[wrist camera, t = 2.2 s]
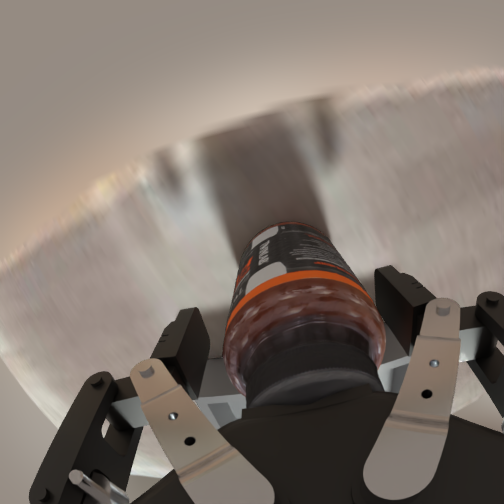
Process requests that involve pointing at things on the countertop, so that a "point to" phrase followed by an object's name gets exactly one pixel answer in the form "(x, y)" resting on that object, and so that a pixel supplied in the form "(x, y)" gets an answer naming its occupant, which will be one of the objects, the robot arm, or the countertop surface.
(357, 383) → the supplement bottle
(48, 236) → the countertop surface
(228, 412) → the bin
